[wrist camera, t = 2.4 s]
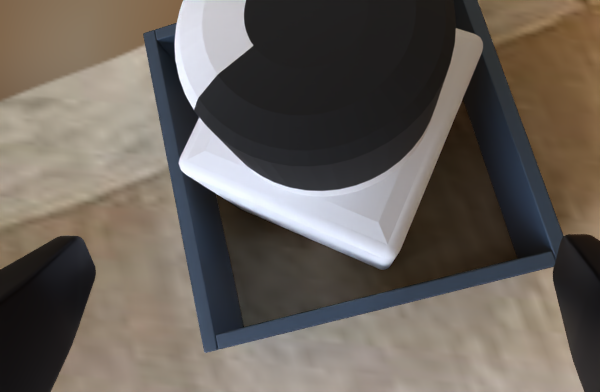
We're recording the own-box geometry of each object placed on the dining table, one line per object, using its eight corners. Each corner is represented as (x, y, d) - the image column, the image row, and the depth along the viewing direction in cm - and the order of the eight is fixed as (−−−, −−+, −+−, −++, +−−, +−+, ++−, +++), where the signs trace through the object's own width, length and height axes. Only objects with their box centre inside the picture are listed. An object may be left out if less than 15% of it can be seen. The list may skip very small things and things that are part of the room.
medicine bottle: (451, 118, 21) (548, -95, 10) (387, 273, 20) (407, 246, 9) (300, 64, 23) (224, -177, 11) (234, 206, 22) (76, 107, 10)
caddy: (533, 267, 20) (573, 261, 16) (235, 341, 21) (203, 353, 17) (440, -3, 22) (454, -65, 18) (180, 75, 23) (142, 32, 20)
